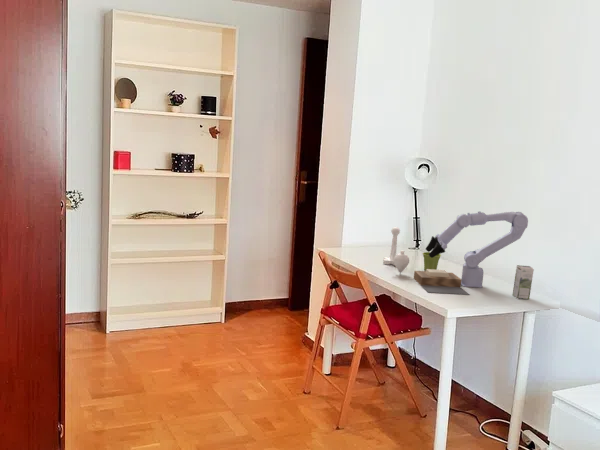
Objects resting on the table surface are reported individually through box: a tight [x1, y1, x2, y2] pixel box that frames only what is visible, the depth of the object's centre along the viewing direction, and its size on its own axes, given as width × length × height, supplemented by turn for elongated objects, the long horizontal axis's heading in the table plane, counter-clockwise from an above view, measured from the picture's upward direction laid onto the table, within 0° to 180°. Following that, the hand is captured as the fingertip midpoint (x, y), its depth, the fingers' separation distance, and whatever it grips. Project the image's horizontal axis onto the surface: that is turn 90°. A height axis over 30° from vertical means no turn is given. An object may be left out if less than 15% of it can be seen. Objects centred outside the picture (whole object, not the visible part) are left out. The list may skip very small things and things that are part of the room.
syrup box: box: [512, 264, 535, 300], centre depth 281 cm, size 6×6×14 cm
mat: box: [420, 285, 470, 296], centre depth 285 cm, size 19×12×1 cm, turn 95°
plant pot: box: [422, 251, 442, 271], centre depth 323 cm, size 9×9×9 cm
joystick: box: [382, 226, 401, 266], centre depth 330 cm, size 11×8×20 cm
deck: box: [413, 270, 462, 288], centre depth 297 cm, size 19×13×4 cm
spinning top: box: [394, 250, 410, 275], centre depth 308 cm, size 8×8×12 cm
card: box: [425, 269, 449, 277], centre depth 296 cm, size 9×6×2 cm, turn 95°
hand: (428, 253), depth 299 cm, fingers open, 7 cm apart
